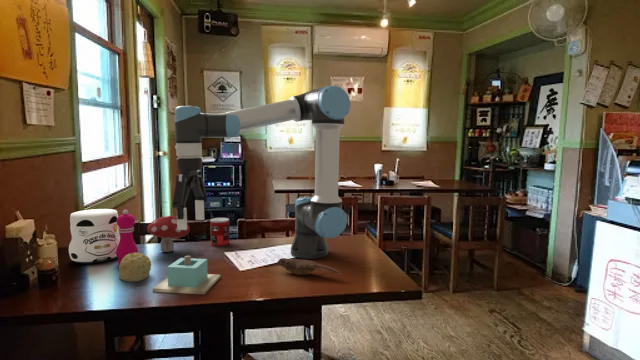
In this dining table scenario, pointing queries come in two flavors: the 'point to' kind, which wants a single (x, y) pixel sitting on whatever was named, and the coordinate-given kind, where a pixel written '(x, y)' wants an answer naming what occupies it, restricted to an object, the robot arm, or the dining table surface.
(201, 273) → the teal hollow square block
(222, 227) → the canned food
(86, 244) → the dulce de leche jar
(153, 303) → the dining table surface
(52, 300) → the dining table surface
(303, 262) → the bird sculpture
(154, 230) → the decorative mushroom
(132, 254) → the rock
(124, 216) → the pepper mill
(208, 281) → the rod stand
